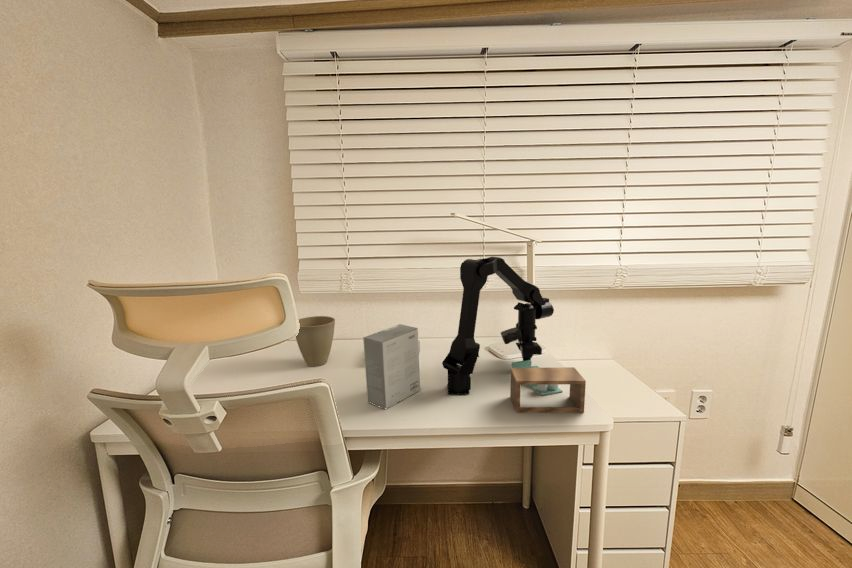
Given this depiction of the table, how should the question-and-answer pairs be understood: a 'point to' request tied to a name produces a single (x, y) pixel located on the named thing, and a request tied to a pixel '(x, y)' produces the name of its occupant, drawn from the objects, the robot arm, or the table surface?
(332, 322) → the plant pot
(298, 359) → the table surface
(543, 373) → the shelf
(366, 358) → the hard drive box
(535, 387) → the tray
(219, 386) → the table surface
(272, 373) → the table surface
